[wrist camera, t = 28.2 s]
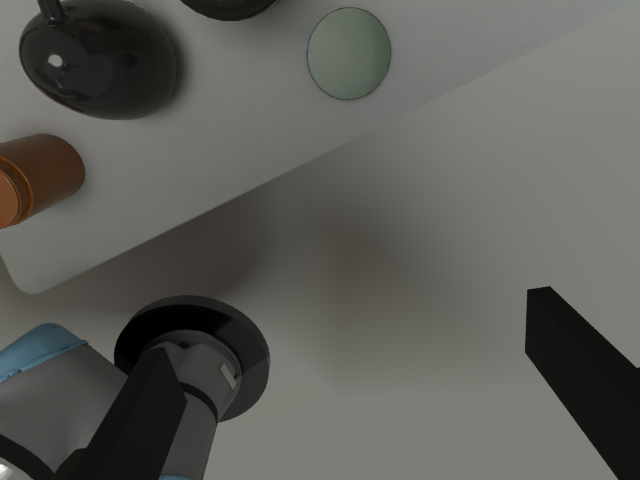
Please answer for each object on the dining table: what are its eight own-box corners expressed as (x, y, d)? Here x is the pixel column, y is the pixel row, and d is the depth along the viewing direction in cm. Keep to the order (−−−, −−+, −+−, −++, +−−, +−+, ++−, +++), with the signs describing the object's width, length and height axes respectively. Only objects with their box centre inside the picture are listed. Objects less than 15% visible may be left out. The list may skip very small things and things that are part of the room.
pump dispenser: (184, 5, 38) (109, -28, 24) (191, 117, 42) (131, 143, 29) (76, -3, 38) (-62, -42, 24) (93, 110, 42) (-15, 133, 28)
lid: (403, 62, 41) (407, 62, 39) (340, 115, 43) (341, 117, 41) (355, -11, 38) (357, -15, 36) (290, 49, 40) (289, 48, 38)
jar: (59, 209, 46) (-8, 247, 37) (4, 163, 44) (-83, 190, 34) (98, 170, 45) (38, 199, 35) (42, 119, 42) (-39, 135, 33)
